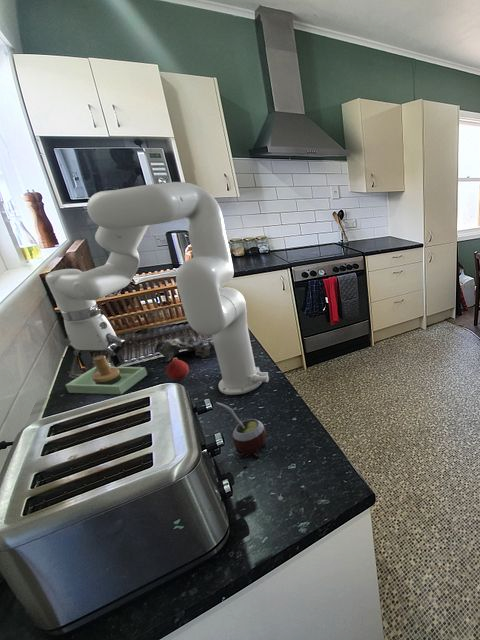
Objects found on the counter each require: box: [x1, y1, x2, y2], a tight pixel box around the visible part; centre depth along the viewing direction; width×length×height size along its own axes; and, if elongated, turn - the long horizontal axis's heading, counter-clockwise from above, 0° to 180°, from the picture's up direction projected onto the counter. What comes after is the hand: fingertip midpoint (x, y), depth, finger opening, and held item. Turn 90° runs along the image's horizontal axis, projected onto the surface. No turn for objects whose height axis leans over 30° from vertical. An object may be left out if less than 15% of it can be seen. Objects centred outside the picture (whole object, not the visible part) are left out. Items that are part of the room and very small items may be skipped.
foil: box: [154, 335, 214, 363], centre depth 123 cm, size 12×11×15 cm
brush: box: [92, 355, 121, 385], centre depth 106 cm, size 6×6×8 cm
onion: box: [165, 357, 190, 381], centre depth 109 cm, size 6×6×8 cm
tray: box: [64, 365, 148, 395], centre depth 107 cm, size 16×11×3 cm
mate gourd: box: [215, 401, 267, 460], centre depth 82 cm, size 8×8×15 cm
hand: (104, 364), depth 105 cm, fingers open, 9 cm apart
